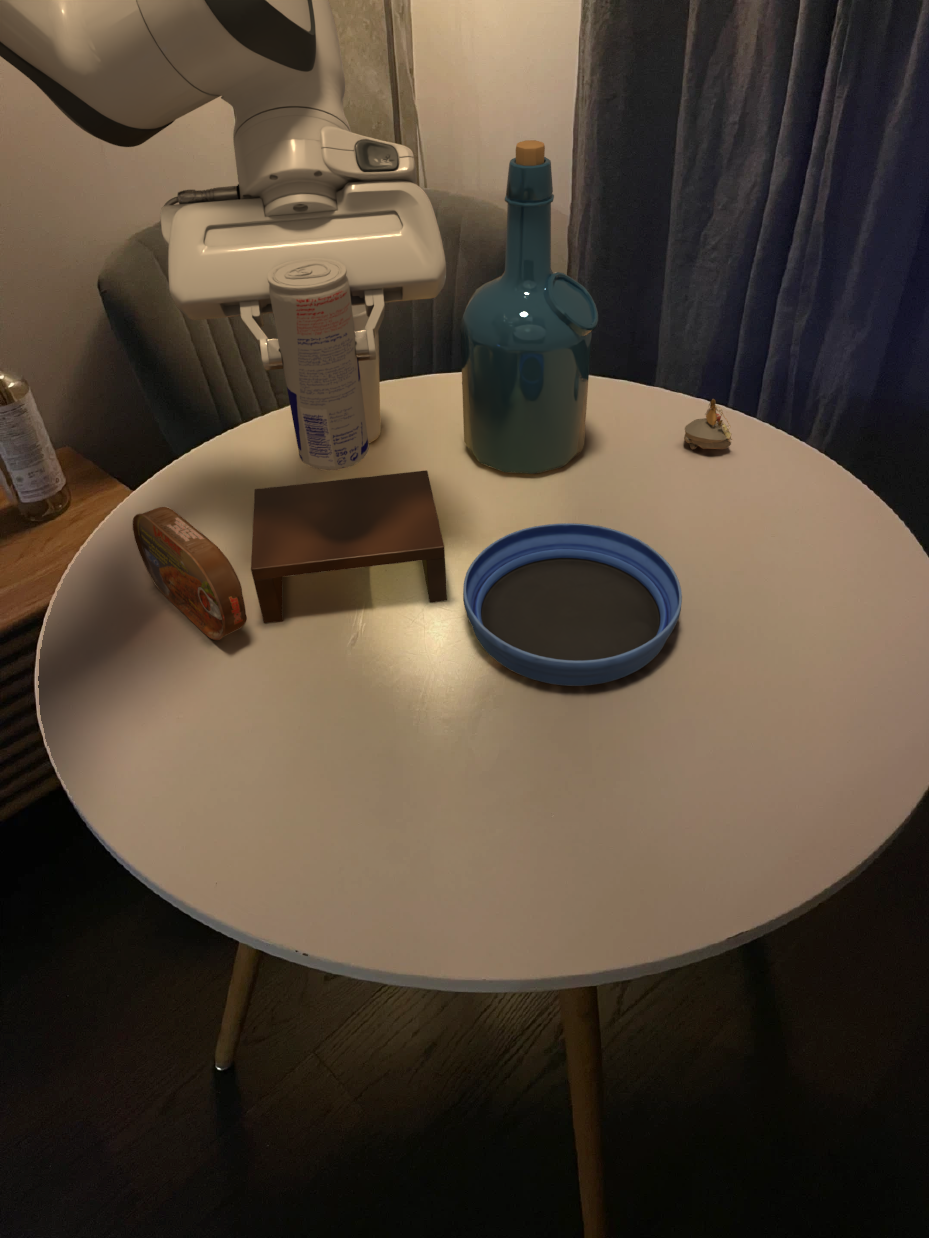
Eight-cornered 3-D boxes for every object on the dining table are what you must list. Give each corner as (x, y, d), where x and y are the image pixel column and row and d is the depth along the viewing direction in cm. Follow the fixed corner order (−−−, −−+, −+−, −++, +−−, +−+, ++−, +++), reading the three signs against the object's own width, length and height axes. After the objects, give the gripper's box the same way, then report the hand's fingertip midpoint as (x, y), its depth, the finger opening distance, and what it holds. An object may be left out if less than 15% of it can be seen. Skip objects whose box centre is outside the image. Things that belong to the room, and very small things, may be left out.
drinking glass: (374, 455, 96) (359, 321, 86) (317, 446, 98) (296, 314, 88) (397, 425, 101) (385, 295, 91) (343, 416, 103) (326, 288, 93)
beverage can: (383, 448, 72) (362, 263, 62) (342, 482, 69) (314, 292, 59) (328, 431, 75) (300, 250, 65) (285, 463, 71) (249, 277, 61)
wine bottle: (444, 465, 94) (429, 158, 74) (490, 407, 103) (487, 119, 83) (567, 490, 90) (586, 172, 70) (604, 428, 99) (629, 130, 79)
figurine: (675, 449, 95) (683, 399, 91) (691, 431, 98) (699, 381, 94) (722, 463, 93) (732, 411, 89) (737, 444, 96) (748, 393, 92)
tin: (144, 576, 82) (117, 500, 76) (174, 561, 83) (151, 486, 78) (229, 659, 73) (206, 580, 68) (261, 641, 75) (242, 562, 69)
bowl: (719, 617, 75) (726, 585, 73) (578, 730, 66) (581, 698, 64) (562, 528, 85) (564, 497, 83) (421, 616, 77) (418, 585, 74)
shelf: (263, 623, 76) (250, 569, 72) (266, 541, 85) (254, 488, 81) (447, 601, 78) (444, 546, 74) (430, 522, 87) (427, 469, 83)
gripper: (145, 169, 62) (167, 361, 62) (433, 147, 64) (458, 333, 63) (167, 215, 69) (188, 390, 68) (430, 193, 70) (452, 363, 70)
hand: (320, 362), depth 66 cm, fingers closed on beverage can, 5 cm apart
